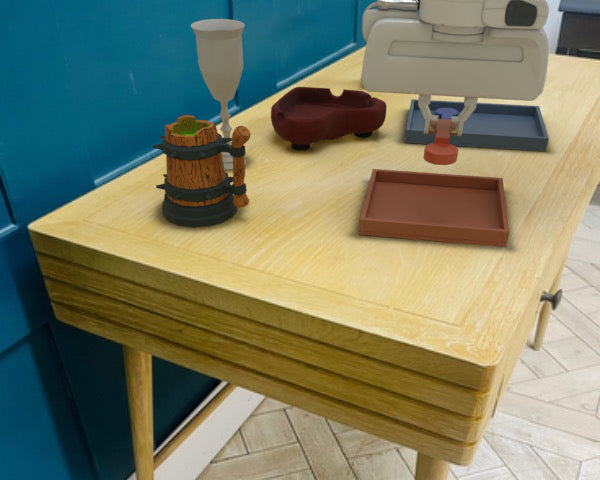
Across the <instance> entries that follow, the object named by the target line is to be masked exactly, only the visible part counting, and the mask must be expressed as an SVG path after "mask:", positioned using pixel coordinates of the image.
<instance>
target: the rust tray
mask: <svg viewBox="0 0 600 480" xmlns="http://www.w3.org/2000/svg"><path fill="white" fill-rule="evenodd" d="M510 230H511V229H510V224H509V215H508V208H507V199H506V192H505V186H504V178H503V177H495V176H493V177H492V176H481V175H468V174H467V175H464V174H454V173H453V174H452V173H451V174H450V173H439V172H424V171H408V170H394V169H382V168H372V170H371V174H370V178H369V182H368V186H367V189H366V194H365V198H364V202H363V205H362V210H361V213H360V217H359V226H358V235H360V236H373V237H381V238H382V237H383V238H394V239H395V238H396V239H408V240H419V241H428V242H429V241H430V242H441V243H451V244H452V243H453V244H464V245H477V246H488V247H499V248H507V245H508V240H509V237H510V232H511V231H510Z"/></svg>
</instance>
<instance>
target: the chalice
mask: <svg viewBox="0 0 600 480" xmlns="http://www.w3.org/2000/svg"><path fill="white" fill-rule="evenodd" d="M245 26H246V24H245V22H242V21H240V20H236V19H228V18H210V19H202V20H201V19H200V20H198V21H197V20H196V21H195V22H192V23H191V24H190V28H191V29H192V30H193V33H194V35H195V42H196V43H195V44H196V52H197V63H198V69H199V70H200V74H201V75H202V76H201V77H202V78H203V81H204V83H205V85H206V86H207V87H206V88H208V90H209V91H210V94H211V97H212V98H213V99H214V100H215V101H218V102H219V103H220V107H221V108H220V114H219V118H220V119H221V122H222V124H221V127H220V128H219V130H220V131H221V132H222V137H223V138H231V133H232V131H233V128H232V127H231V125H230V123H229V122H230V118H231V116H232V115H231V114H230V112H229V107H228V104H229V101H231V100H233V99H234V98H235V94H236V92H237V90H238V87H239V84H240V81H241V77H242V73H243V70H244V53H243V37H242V34H243V32H244V29H245ZM231 143H232V141H230V142H227V143H226V144H229V145H232V144H231ZM221 153H222V158H223V164H224V169H225V170H233V157H232V156H230V153H227V152H221ZM244 162H245V165H246V164H247V160H246V158H244Z"/></svg>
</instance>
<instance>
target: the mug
mask: <svg viewBox="0 0 600 480" xmlns="http://www.w3.org/2000/svg"><path fill="white" fill-rule="evenodd" d="M164 129H165V130H164V132H165V134H164V135H159V139H161V142H160V143H156V144H152V149H156V150H160V151H161V152H162V154H163V155H165V160H166V173H163V174H162V177H164V179H163V183H161V184H156V185H155V188H156V189H159V190H163V191H164V197H163V201H162V205H161V210H162V211H161V212H162V216H163V217H164V218H165V219H166V220H167V222H169V223H171V224H173V225H176V226H179V227H187V228H206V227H212V226H216V225H219V224H223V223H225V222H226V221H228V220H230V219H232V218H234V217H235V215H236V214H237V212H238V208H239V209H240V208H245V207H247V206H249V204H250V198H249V197H248V194H247V191H248V190H247V183H246V182H245V177H246V164H245V162H244V159H245V156H246V146H245V144H246V143H247V142H248V141H250V138H251V136H252V134H251V131H250V130H249V129H248V128H247V126H244V125H239V126H236V127H235V128H234V130H233V131H232V135H231V137H230V138H224V137H223V135H222V134H220V133H218V129H217V124H216V123H214V122H212V121H208V120H204V119H196V115H189V114H184V115H182V116H179V117H177V118H176V121H175V122H172V123H170V124H165V125H164ZM230 141H231V142H232V143H231V144H232V145H229V144H226V143H227V142H230ZM221 152H227V153H230V156H232V157H233V169H232V176H229V173H228V172H226V169H224V164H223V158H222V153H221ZM231 183H232V184H231Z"/></svg>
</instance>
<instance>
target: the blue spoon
mask: <svg viewBox="0 0 600 480" xmlns="http://www.w3.org/2000/svg"><path fill="white" fill-rule="evenodd" d="M435 115H438V119H450V120H451V116H458V111H457V110H455V109H452V108H438V109H436V110H435Z"/></svg>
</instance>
